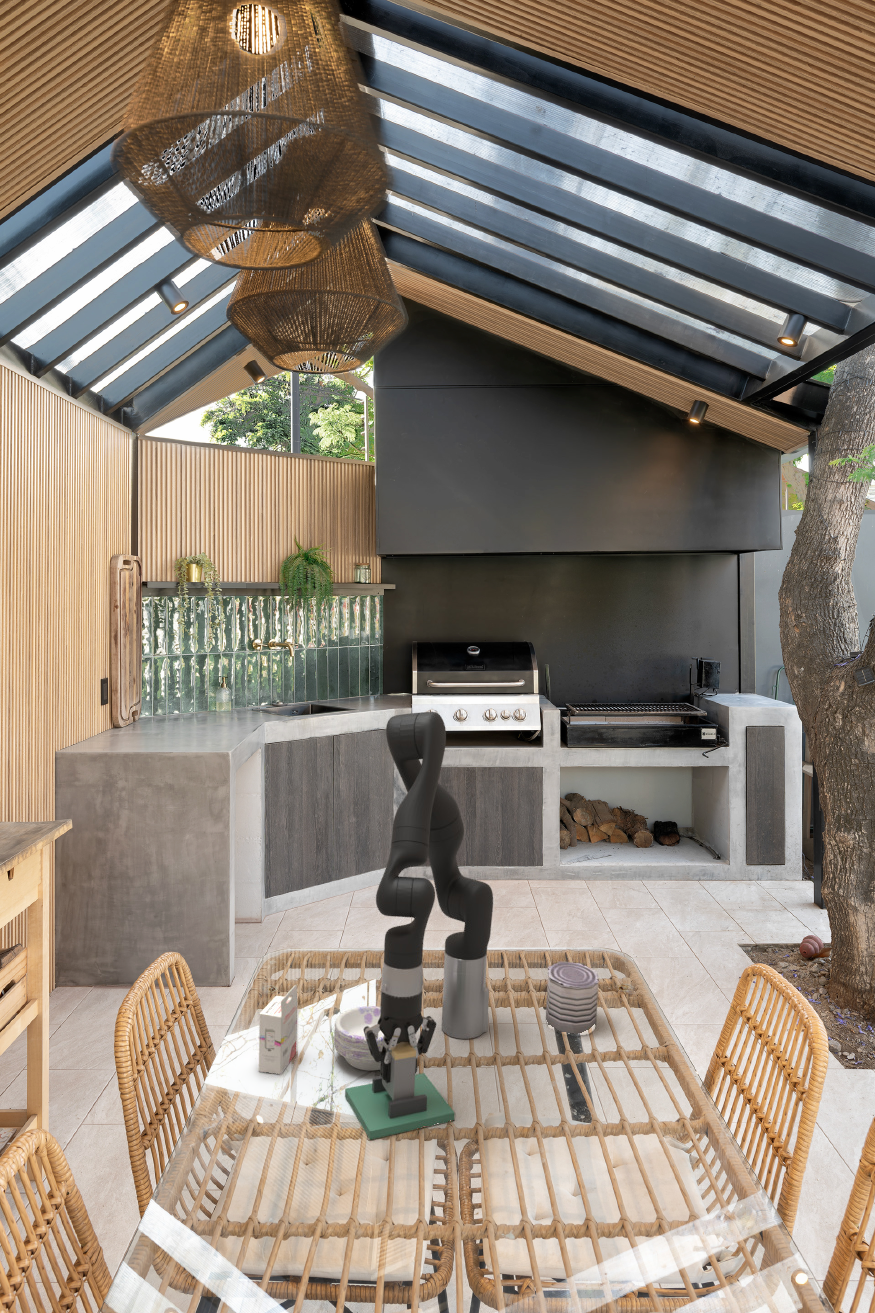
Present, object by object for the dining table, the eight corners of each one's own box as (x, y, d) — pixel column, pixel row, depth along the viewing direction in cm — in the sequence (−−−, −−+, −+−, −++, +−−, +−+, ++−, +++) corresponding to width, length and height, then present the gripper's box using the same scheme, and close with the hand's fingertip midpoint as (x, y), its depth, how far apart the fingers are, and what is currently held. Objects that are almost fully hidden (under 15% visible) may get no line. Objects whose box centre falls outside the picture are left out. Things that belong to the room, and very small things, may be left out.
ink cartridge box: (274, 1050, 174) (276, 980, 173) (296, 1053, 173) (299, 983, 172) (256, 1072, 165) (259, 998, 164) (280, 1075, 164) (283, 1001, 163)
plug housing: (402, 1079, 158) (404, 1035, 158) (414, 1097, 153) (416, 1050, 152) (382, 1083, 156) (383, 1038, 156) (393, 1101, 151) (395, 1054, 151)
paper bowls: (397, 1037, 181) (398, 1000, 181) (417, 1074, 167) (419, 1034, 166) (327, 1045, 176) (328, 1008, 176) (341, 1084, 162) (342, 1043, 162)
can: (590, 1013, 196) (593, 962, 195) (601, 1037, 184) (604, 983, 184) (541, 1012, 195) (543, 961, 195) (549, 1036, 184) (551, 982, 183)
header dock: (423, 1080, 164) (424, 1060, 164) (454, 1120, 152) (455, 1099, 151) (344, 1096, 158) (345, 1075, 158) (369, 1140, 145) (370, 1117, 145)
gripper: (429, 972, 160) (426, 1061, 161) (358, 982, 154) (354, 1074, 155) (446, 989, 153) (442, 1082, 154) (371, 1000, 147) (367, 1096, 148)
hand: (398, 1077), depth 154 cm, fingers closed on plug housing, 4 cm apart
